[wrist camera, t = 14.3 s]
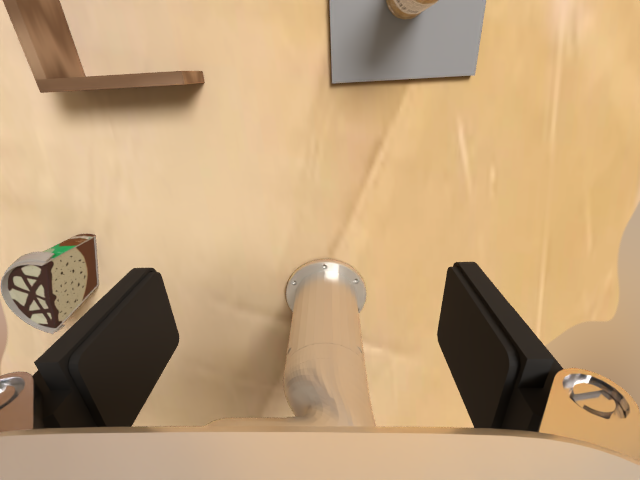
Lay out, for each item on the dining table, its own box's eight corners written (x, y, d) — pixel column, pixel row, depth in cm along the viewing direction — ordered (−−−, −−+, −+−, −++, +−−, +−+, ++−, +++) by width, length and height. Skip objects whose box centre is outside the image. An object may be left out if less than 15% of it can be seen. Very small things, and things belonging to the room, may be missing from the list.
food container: (51, 216, 47) (-15, 249, 38) (95, 226, 47) (41, 261, 38) (60, 284, 52) (5, 327, 43) (99, 292, 53) (53, 336, 44)
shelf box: (204, 82, 38) (184, 84, 33) (80, 89, 39) (40, 92, 33) (172, -82, 31) (141, -113, 26) (23, -70, 32) (-38, -98, 27)
